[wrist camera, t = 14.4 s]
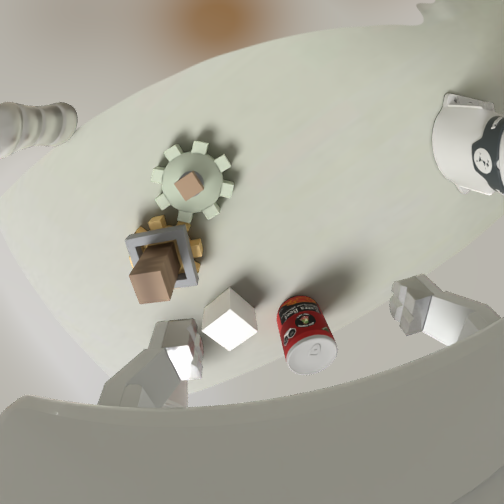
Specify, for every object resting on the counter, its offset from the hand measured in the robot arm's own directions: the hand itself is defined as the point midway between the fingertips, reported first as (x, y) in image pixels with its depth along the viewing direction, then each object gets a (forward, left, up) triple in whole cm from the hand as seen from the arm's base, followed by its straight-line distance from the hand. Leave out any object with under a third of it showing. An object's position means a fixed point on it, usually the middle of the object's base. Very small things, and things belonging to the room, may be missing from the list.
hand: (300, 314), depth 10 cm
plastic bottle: (+22, -20, -29) cm, 42 cm away
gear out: (+15, +5, -29) cm, 33 cm away
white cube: (+10, +18, -29) cm, 36 cm away
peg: (+15, +5, -27) cm, 31 cm away
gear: (+7, -3, -29) cm, 30 cm away
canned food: (0, +24, -29) cm, 38 cm away
